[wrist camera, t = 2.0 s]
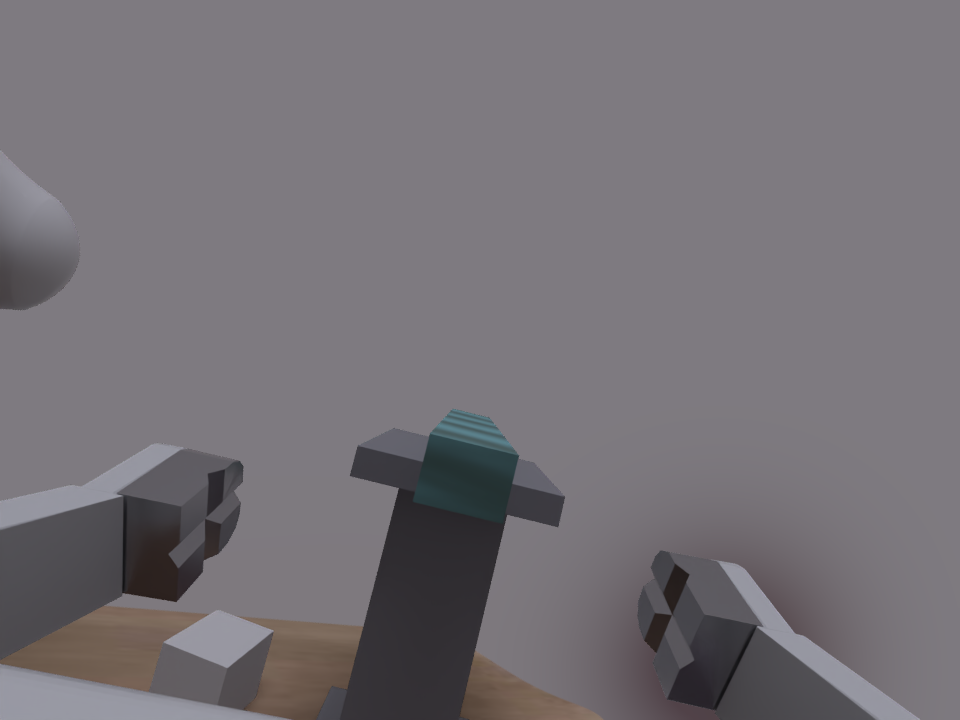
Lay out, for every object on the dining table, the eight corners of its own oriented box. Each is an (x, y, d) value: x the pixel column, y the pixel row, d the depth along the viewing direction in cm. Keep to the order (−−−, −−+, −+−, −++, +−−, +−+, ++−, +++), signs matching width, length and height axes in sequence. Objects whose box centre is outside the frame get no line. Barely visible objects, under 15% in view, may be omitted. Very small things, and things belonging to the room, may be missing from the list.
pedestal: (469, 917, 27) (565, 496, 29) (247, 863, 27) (357, 445, 29) (469, 738, 41) (533, 462, 43) (322, 703, 41) (393, 428, 43)
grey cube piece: (255, 698, 40) (274, 630, 40) (205, 748, 34) (227, 668, 35) (198, 674, 41) (217, 609, 41) (140, 719, 35) (163, 642, 36)
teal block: (502, 524, 19) (519, 455, 19) (412, 501, 19) (429, 433, 19) (482, 445, 47) (489, 417, 47) (446, 436, 47) (453, 408, 47)
